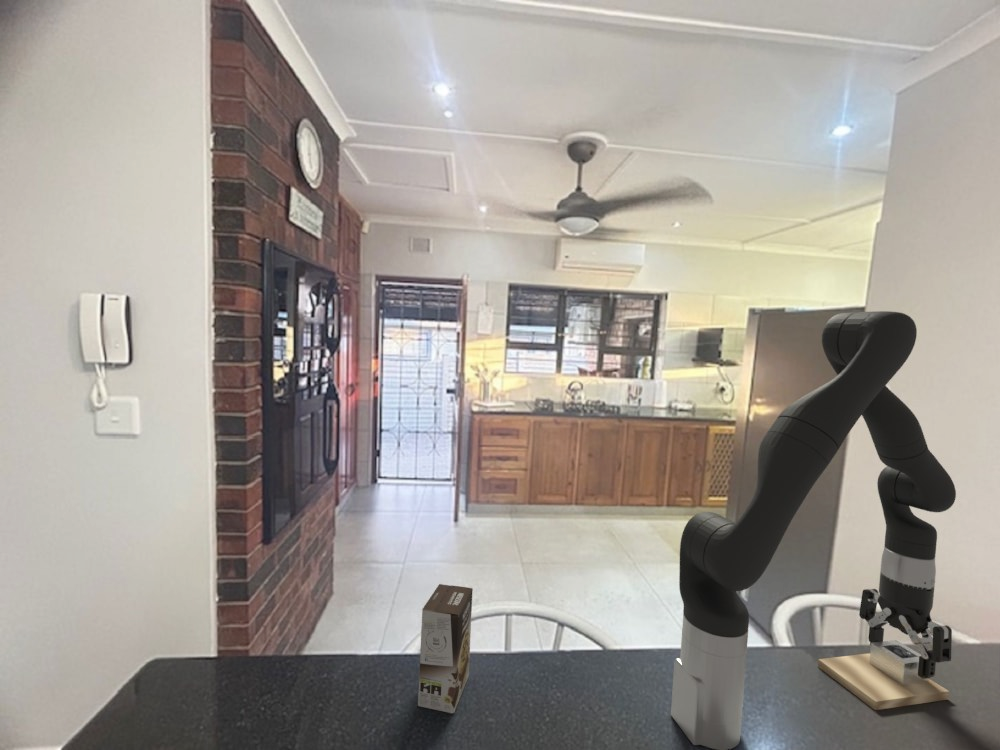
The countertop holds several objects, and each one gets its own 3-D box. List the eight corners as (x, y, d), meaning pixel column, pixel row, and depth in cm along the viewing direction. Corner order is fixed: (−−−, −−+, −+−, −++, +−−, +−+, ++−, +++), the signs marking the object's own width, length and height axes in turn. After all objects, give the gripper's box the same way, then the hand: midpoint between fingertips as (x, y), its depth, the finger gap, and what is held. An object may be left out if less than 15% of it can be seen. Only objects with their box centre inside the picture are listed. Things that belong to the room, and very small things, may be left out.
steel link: (902, 685, 83) (904, 663, 83) (869, 663, 89) (871, 642, 89) (928, 681, 84) (930, 660, 84) (894, 660, 90) (896, 640, 90)
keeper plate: (875, 710, 79) (878, 675, 78) (817, 666, 89) (820, 635, 89) (948, 699, 82) (951, 665, 82) (884, 658, 93) (887, 629, 92)
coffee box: (455, 715, 73) (459, 615, 73) (416, 707, 75) (420, 609, 74) (470, 676, 82) (474, 587, 82) (435, 669, 84) (439, 581, 83)
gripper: (853, 559, 92) (846, 639, 93) (934, 597, 78) (925, 691, 79) (883, 557, 93) (877, 636, 94) (968, 594, 79) (959, 686, 80)
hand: (899, 661), depth 86 cm, fingers open, 8 cm apart
